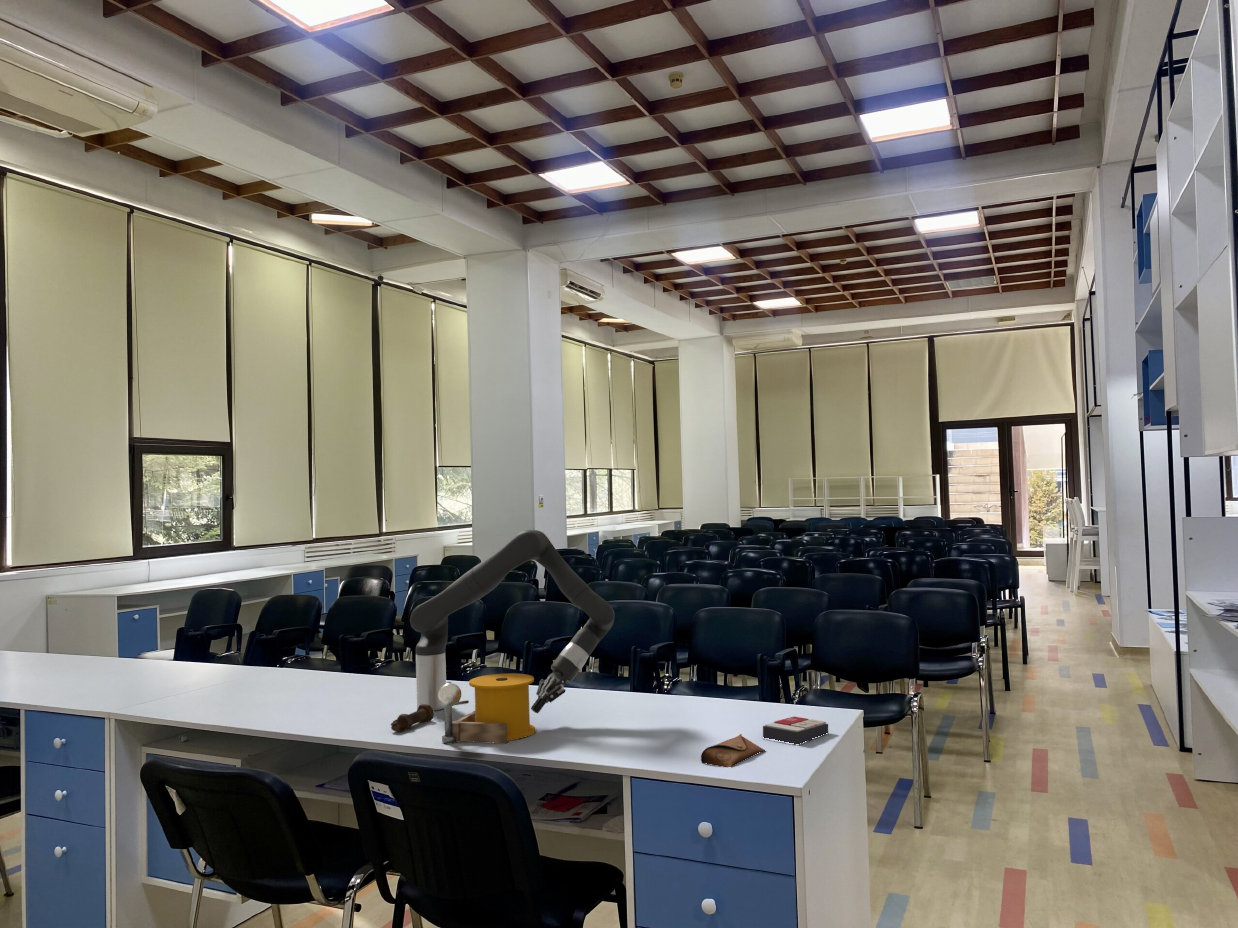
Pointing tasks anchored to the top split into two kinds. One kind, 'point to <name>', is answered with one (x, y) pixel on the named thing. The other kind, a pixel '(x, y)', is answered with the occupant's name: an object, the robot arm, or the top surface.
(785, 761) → the top surface
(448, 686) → the metal faucet
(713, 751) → the sunglasses case
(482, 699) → the spool
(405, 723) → the bolt
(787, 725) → the dark grey box
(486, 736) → the wooden v-shaped bracket
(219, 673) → the top surface
